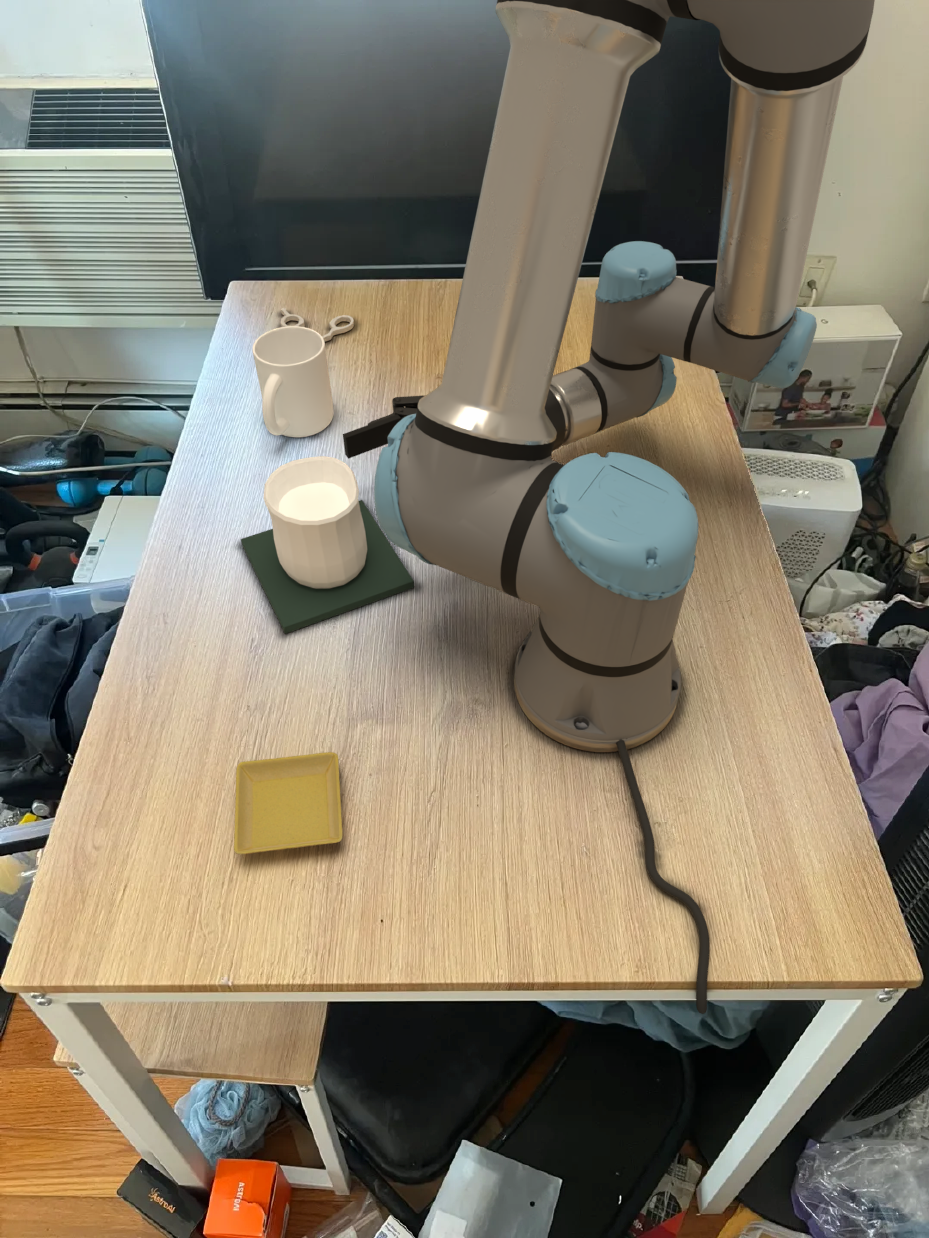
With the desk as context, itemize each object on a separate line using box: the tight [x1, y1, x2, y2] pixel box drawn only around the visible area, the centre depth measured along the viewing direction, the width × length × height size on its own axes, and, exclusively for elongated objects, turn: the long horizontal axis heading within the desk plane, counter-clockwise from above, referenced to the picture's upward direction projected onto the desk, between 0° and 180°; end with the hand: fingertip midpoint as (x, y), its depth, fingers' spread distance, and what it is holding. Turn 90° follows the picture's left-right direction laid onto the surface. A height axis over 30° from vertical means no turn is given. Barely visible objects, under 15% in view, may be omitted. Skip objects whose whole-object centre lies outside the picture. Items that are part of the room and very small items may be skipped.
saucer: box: [233, 751, 344, 855], centre depth 76 cm, size 9×9×2 cm
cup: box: [263, 455, 367, 589], centre depth 91 cm, size 10×10×10 cm
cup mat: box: [240, 499, 415, 634], centre depth 95 cm, size 14×14×1 cm
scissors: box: [280, 307, 355, 342], centre depth 122 cm, size 11×1×20 cm
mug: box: [251, 325, 335, 438], centre depth 108 cm, size 12×8×10 cm
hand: (375, 482), depth 92 cm, fingers open, 13 cm apart
